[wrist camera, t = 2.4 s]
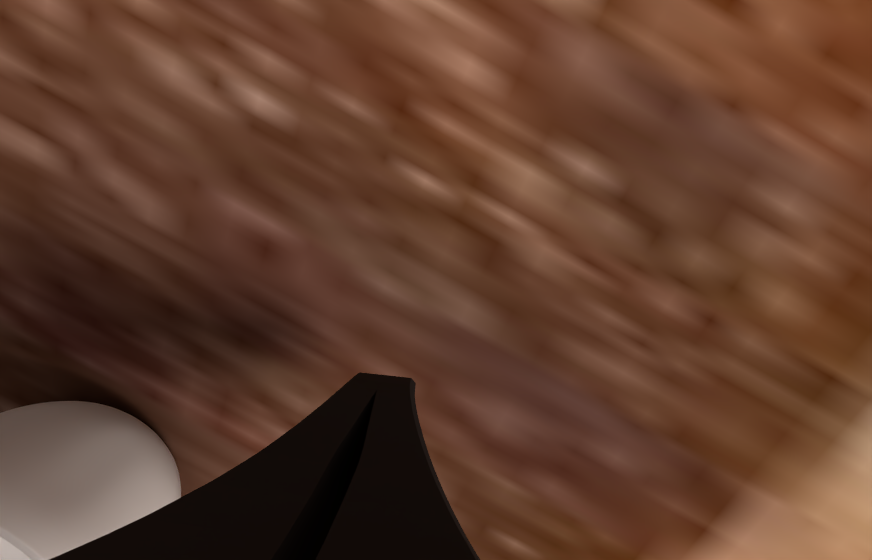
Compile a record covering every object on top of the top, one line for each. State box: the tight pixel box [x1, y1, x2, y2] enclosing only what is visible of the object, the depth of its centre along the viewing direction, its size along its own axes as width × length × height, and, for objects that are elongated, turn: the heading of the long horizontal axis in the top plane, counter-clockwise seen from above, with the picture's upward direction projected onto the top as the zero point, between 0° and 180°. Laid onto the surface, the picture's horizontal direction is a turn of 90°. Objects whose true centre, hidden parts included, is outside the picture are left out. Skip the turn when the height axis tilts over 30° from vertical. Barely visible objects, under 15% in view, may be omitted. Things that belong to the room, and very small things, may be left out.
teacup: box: [0, 401, 181, 560], centre depth 13 cm, size 10×8×5 cm
